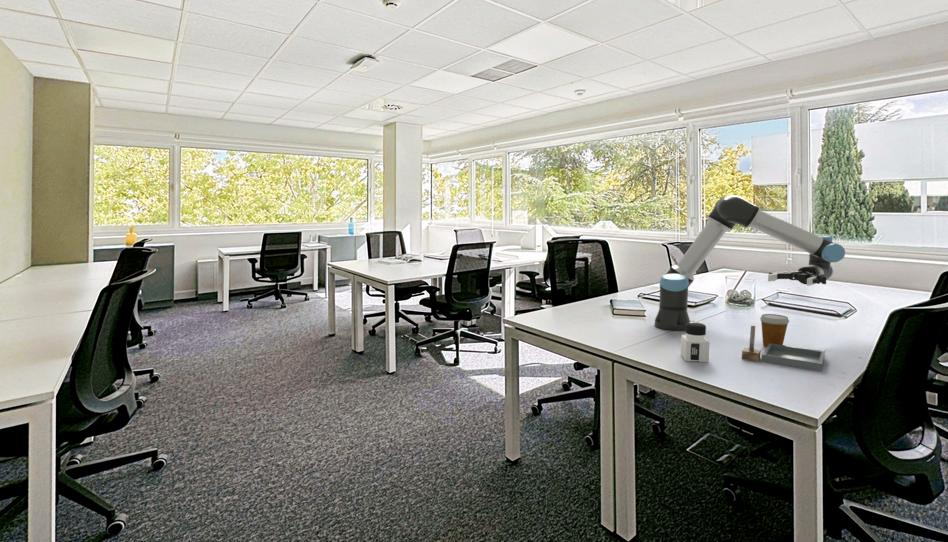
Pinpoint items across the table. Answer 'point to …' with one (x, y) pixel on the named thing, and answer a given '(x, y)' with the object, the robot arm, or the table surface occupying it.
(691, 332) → the container
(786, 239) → the robot arm
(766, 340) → the disposable coffee cup
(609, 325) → the table surface
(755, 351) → the stand
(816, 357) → the tray
